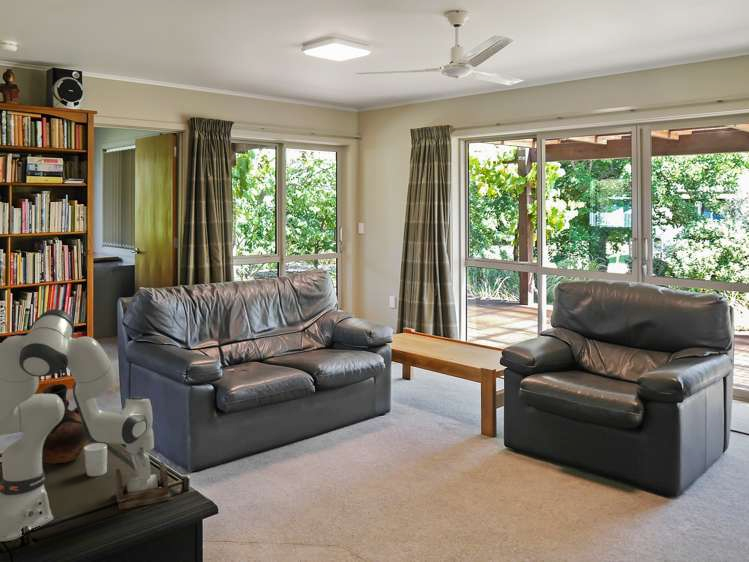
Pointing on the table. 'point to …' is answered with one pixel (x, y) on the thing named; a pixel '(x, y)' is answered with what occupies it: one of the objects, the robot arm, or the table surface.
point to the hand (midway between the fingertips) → (141, 483)
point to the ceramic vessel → (64, 432)
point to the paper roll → (135, 486)
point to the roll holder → (143, 496)
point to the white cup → (96, 459)
